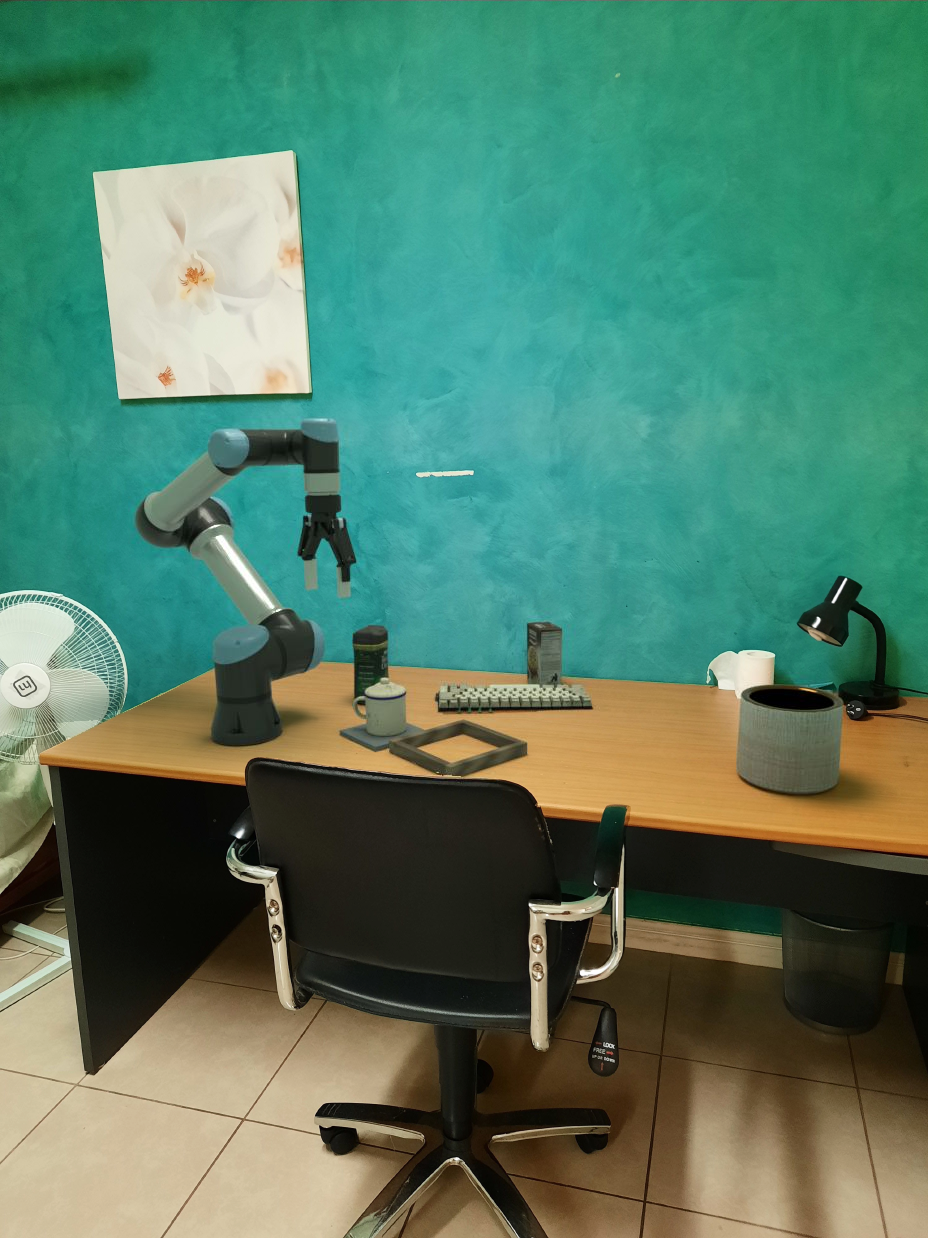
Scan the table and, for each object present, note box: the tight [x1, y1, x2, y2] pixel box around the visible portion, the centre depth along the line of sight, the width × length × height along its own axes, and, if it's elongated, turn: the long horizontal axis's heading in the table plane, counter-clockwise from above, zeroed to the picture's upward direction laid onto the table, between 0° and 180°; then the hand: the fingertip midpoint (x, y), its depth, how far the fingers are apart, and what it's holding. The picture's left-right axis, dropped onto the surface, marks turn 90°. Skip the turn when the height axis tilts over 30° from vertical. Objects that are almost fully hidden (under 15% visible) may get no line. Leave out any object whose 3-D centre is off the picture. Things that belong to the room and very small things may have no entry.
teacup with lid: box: [352, 677, 407, 736], centre depth 182 cm, size 12×9×12 cm
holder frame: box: [388, 719, 528, 777], centre depth 171 cm, size 20×20×2 cm
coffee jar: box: [351, 624, 390, 705], centre depth 207 cm, size 10×8×19 cm
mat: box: [339, 722, 425, 752], centre depth 182 cm, size 14×14×1 cm
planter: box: [735, 684, 844, 795], centre depth 155 cm, size 18×18×16 cm
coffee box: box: [526, 621, 563, 688], centre depth 217 cm, size 9×6×16 cm
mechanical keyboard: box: [434, 682, 594, 715], centre depth 206 cm, size 38×19×3 cm, turn 92°
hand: (327, 593), depth 181 cm, fingers open, 13 cm apart
